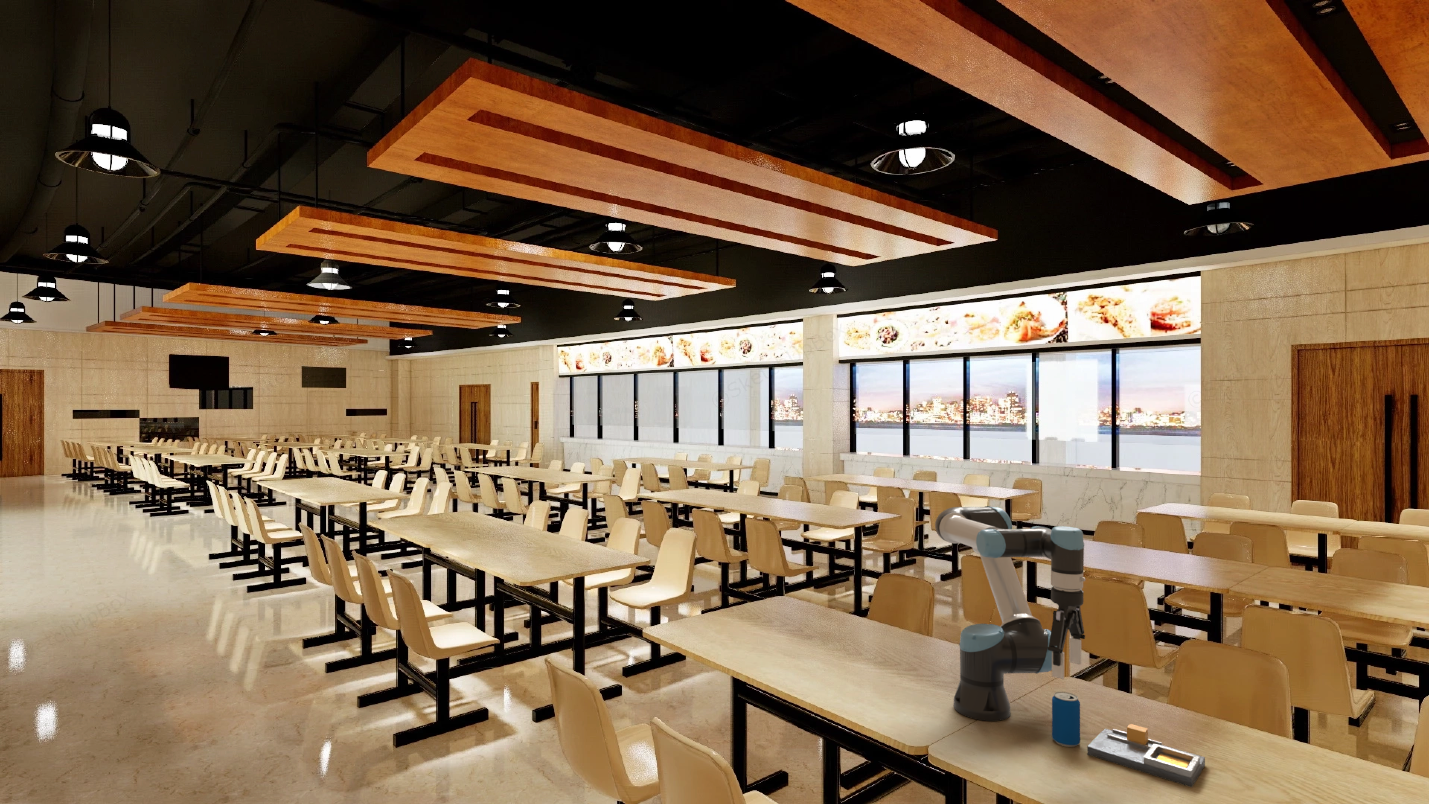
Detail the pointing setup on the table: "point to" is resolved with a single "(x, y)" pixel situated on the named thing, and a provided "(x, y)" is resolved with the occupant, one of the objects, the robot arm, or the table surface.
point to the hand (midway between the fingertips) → (1066, 670)
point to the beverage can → (1066, 719)
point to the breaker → (1137, 734)
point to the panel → (1147, 757)
